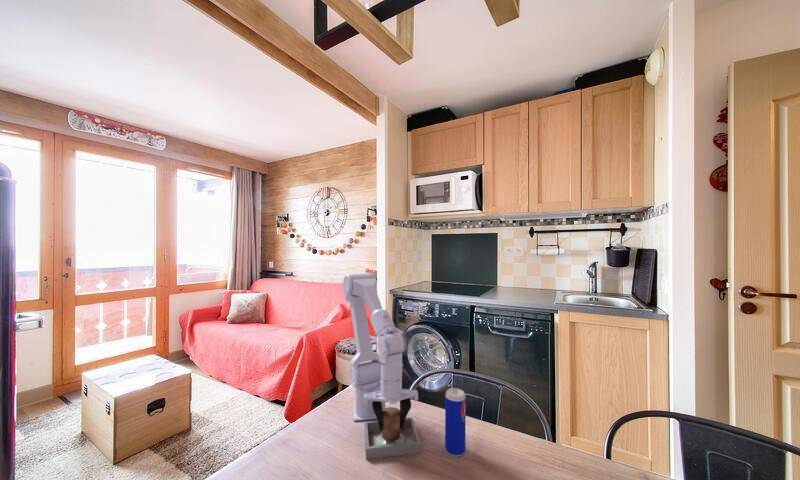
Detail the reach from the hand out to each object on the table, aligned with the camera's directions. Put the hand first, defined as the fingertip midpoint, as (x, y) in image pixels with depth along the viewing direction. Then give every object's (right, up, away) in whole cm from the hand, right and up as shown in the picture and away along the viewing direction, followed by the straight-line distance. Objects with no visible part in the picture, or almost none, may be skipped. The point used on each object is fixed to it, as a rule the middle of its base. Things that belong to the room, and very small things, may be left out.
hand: (391, 427), depth 77 cm
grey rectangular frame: (0, -4, 0) cm, 4 cm away
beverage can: (+17, -4, -3) cm, 18 cm away
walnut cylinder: (0, -2, 0) cm, 2 cm away
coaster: (0, -4, 0) cm, 4 cm away
